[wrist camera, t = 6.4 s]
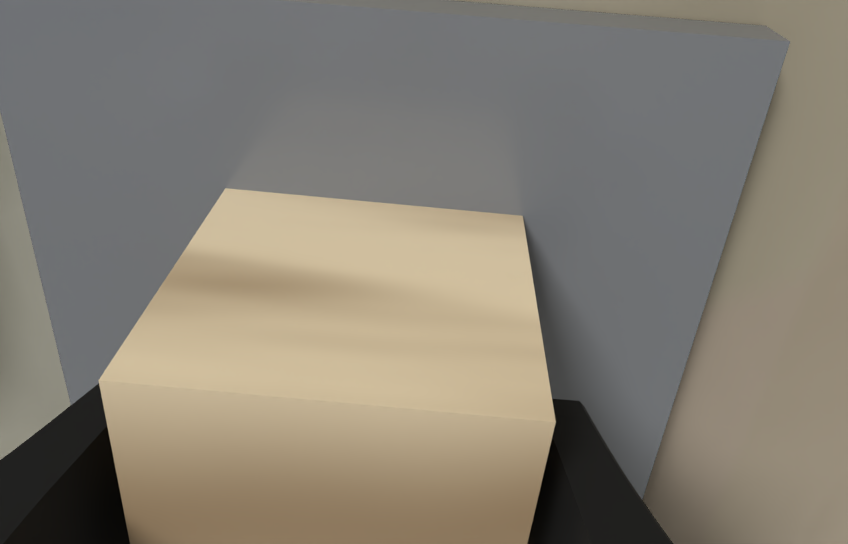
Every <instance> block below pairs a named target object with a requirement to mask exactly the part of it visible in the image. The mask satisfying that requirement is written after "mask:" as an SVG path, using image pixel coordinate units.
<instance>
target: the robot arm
mask: <svg viewBox="0 0 848 544" xmlns="http://www.w3.org/2000/svg"><path fill="white" fill-rule="evenodd" d="M552 402H553V408H554V414H555V420H556V423H555V428H554V432H553V436H552V440H551V445H550V449H549V453H548V458H547V462H546V466H545V470H544V475H543V479H542V483H541V487H540V492H539V496H538V500H537V505H536V509H535V513H534V517H533V522H532V526H531V530H530V534H529V539H528V543H527V544H673V543H672V541H671V540H670V539H669V537H668V536H667V535H666V533H665V532H664V530H663V529H662V528H661V526H660V525H659V524H658V522H657V521H656V519H655V518H654V517H653V515H652V514H651V512H650V511H649V509H648V508H647V506H646V505H645V503H644V502H643V500H642V499H641V498H640V496H639V495H638V493H637V492H636V490H635V489H634V487H633V486H632V484H631V483H630V481H629V480H628V478H627V477H626V475H625V474H624V472H623V471H622V469H621V467H620V466H619V464H618V463H617V461H616V459H615V458H614V456H613V454H612V453H611V451H610V450H609V448H608V446H607V445H606V443H605V441H604V440H603V438H602V436H601V435H600V433H599V431H598V429H597V428H596V426H595V424H594V422H593V421H592V419H591V417H590V415H589V414H588V412H587V410H586V408H585V407H584V406H583V404H582V403H581V402H580V401H575V400H563V399H552ZM0 544H130V541H129V536H128V530H127V525H126V520H125V515H124V510H123V505H122V499H121V494H120V489H119V484H118V479H117V474H116V468H115V463H114V458H113V453H112V448H111V443H110V437H109V432H108V427H107V422H106V417H105V412H104V406H103V401H102V396H101V391H100V386H99V383H98V384H97V385H96V386H95V387H93V388H92V389H91V390H90V391H88V392H87V393H86V394H85V395H83V396H82V397H81V398H80V399H78V400H77V401H76V402H75V403H73V404H72V405H71V406H70V407H68V408H67V409H66V410H65V411H63V412H62V413H61V414H60V415H58V416H57V417H56V418H55V419H53V420H52V421H51V422H50V423H48V424H47V425H46V426H45V427H43V428H42V429H41V430H39V431H38V432H37V433H35V434H34V435H33V436H32V437H30V438H29V439H28V440H26V441H25V442H24V443H23V444H21V445H20V446H19V447H17V448H16V449H15V450H13V451H12V452H11V453H10V454H8V455H7V456H5V457H4V458H3V459H1V460H0Z"/></svg>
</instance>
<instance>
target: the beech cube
mask: <svg viewBox="0 0 848 544" xmlns="http://www.w3.org/2000/svg"><path fill="white" fill-rule="evenodd" d="M98 381H99V386H100V391H101V396H102V401H103V406H104V412H105V417H106V422H107V427H108V432H109V437H110V443H111V448H112V453H113V458H114V463H115V468H116V474H117V479H118V484H119V489H120V494H121V499H122V505H123V510H124V515H125V520H126V525H127V530H128V536H129V541H130V544H527V543H528V539H529V534H530V530H531V526H532V522H533V517H534V513H535V509H536V505H537V500H538V496H539V492H540V487H541V483H542V479H543V475H544V470H545V466H546V462H547V458H548V453H549V449H550V445H551V440H552V436H553V432H554V428H555V423H556V420H555V414H554V408H553V402H552V395H551V389H550V383H549V377H548V370H547V364H546V358H545V352H544V345H543V339H542V333H541V327H540V320H539V314H538V308H537V302H536V296H535V289H534V283H533V277H532V271H531V264H530V258H529V252H528V246H527V239H526V233H525V227H524V221H523V216H519V215H508V214H498V213H487V212H476V211H465V210H455V209H444V208H433V207H422V206H411V205H401V204H390V203H379V202H368V201H357V200H347V199H336V198H325V197H314V196H304V195H293V194H282V193H271V192H260V191H250V190H239V189H228V188H225V190H224V191H223V193H222V194H221V196H220V197H219V199H218V200H217V202H216V203H215V205H214V206H213V208H212V209H211V211H210V212H209V214H208V215H207V217H206V218H205V220H204V221H203V223H202V225H201V226H200V228H199V229H198V231H197V232H196V234H195V235H194V237H193V238H192V240H191V241H190V243H189V244H188V246H187V247H186V249H185V250H184V252H183V253H182V255H181V256H180V258H179V259H178V261H177V262H176V264H175V265H174V267H173V268H172V270H171V271H170V273H169V274H168V276H167V277H166V279H165V280H164V282H163V283H162V285H161V287H160V288H159V290H158V291H157V293H156V294H155V296H154V297H153V299H152V300H151V302H150V303H149V305H148V306H147V308H146V309H145V311H144V312H143V314H142V315H141V317H140V318H139V320H138V321H137V323H136V324H135V326H134V327H133V329H132V330H131V332H130V333H129V335H128V336H127V338H126V339H125V341H124V342H123V344H122V346H121V347H120V349H119V350H118V352H117V353H116V355H115V356H114V358H113V359H112V361H111V362H110V364H109V365H108V367H107V368H106V370H105V371H104V373H103V374H102V376H101V377H100V379H99V380H98Z"/></svg>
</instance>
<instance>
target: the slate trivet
mask: <svg viewBox="0 0 848 544" xmlns="http://www.w3.org/2000/svg"><path fill="white" fill-rule="evenodd" d="M789 43H790V41H789V40H787V39H786V38H784V37H782V36H781V35H779V34H778V33H776V32H775V31H773V30H771V29H770V28H768V27H767V26H762V25H750V24H737V23H725V22H713V21H700V20H688V19H675V18H663V17H650V16H638V15H626V14H613V13H601V12H588V11H576V10H564V9H551V8H539V7H526V6H514V5H501V4H489V3H477V2H464V1H452V0H0V112H1V116H2V120H3V124H4V128H5V132H6V137H7V141H8V145H9V149H10V153H11V157H12V161H13V166H14V170H15V174H16V178H17V182H18V186H19V191H20V195H21V199H22V203H23V207H24V211H25V216H26V220H27V224H28V228H29V232H30V236H31V241H32V245H33V249H34V253H35V257H36V261H37V266H38V270H39V274H40V278H41V282H42V286H43V290H44V295H45V299H46V303H47V307H48V311H49V315H50V320H51V324H52V328H53V332H54V336H55V340H56V345H57V349H58V353H59V357H60V361H61V365H62V370H63V374H64V378H65V382H66V386H67V390H68V395H69V399H70V403H71V405H72V404H73V403H75V402H76V401H77V400H78V399H80V398H81V397H82V396H83V395H85V394H86V393H87V392H88V391H90V390H91V389H92V388H93V387H95V386H96V385H97V384H98V383H99V381H98V380H99V379H100V377H101V376H102V374H103V373H104V371H105V370H106V368H107V367H108V365H109V364H110V362H111V361H112V359H113V358H114V356H115V355H116V353H117V352H118V350H119V349H120V347H121V346H122V344H123V342H124V341H125V339H126V338H127V336H128V335H129V333H130V332H131V330H132V329H133V327H134V326H135V324H136V323H137V321H138V320H139V318H140V317H141V315H142V314H143V312H144V311H145V309H146V308H147V306H148V305H149V303H150V302H151V300H152V299H153V297H154V296H155V294H156V293H157V291H158V290H159V288H160V287H161V285H162V283H163V282H164V280H165V279H166V277H167V276H168V274H169V273H170V271H171V270H172V268H173V267H174V265H175V264H176V262H177V261H178V259H179V258H180V256H181V255H182V253H183V252H184V250H185V249H186V247H187V246H188V244H189V243H190V241H191V240H192V238H193V237H194V235H195V234H196V232H197V231H198V229H199V228H200V226H201V225H202V223H203V221H204V220H205V218H206V217H207V215H208V214H209V212H210V211H211V209H212V208H213V206H214V205H215V203H216V202H217V200H218V199H219V197H220V196H221V194H222V193H223V191H224V190H225V188H228V189H239V190H250V191H260V192H271V193H282V194H293V195H304V196H314V197H325V198H336V199H347V200H357V201H368V202H379V203H390V204H401V205H411V206H422V207H433V208H444V209H455V210H465V211H476V212H487V213H498V214H508V215H519V216H523V221H524V227H525V233H526V239H527V246H528V252H529V258H530V264H531V271H532V277H533V283H534V289H535V296H536V302H537V308H538V314H539V320H540V327H541V333H542V339H543V345H544V352H545V358H546V364H547V370H548V377H549V383H550V389H551V395H552V399H563V400H575V401H580V402H581V403H582V404H583V406H584V407H585V408H586V410H587V412H588V414H589V415H590V417H591V419H592V421H593V422H594V424H595V426H596V428H597V429H598V431H599V433H600V435H601V436H602V438H603V440H604V441H605V443H606V445H607V446H608V448H609V450H610V451H611V453H612V454H613V456H614V458H615V459H616V461H617V463H618V464H619V466H620V467H621V469H622V471H623V472H624V474H625V475H626V477H627V478H628V480H629V481H630V483H631V484H632V486H633V487H634V489H635V490H636V492H637V493H638V495H639V496H640V498H641V499H643V496H644V493H645V489H646V486H647V483H648V480H649V477H650V474H651V471H652V468H653V465H654V462H655V458H656V455H657V452H658V449H659V446H660V443H661V440H662V437H663V434H664V431H665V427H666V424H667V421H668V418H669V415H670V412H671V409H672V406H673V403H674V400H675V397H676V393H677V390H678V387H679V384H680V381H681V378H682V375H683V372H684V369H685V366H686V362H687V359H688V356H689V353H690V350H691V347H692V344H693V341H694V338H695V335H696V331H697V328H698V325H699V322H700V319H701V316H702V313H703V310H704V307H705V304H706V301H707V297H708V294H709V291H710V288H711V285H712V282H713V279H714V276H715V273H716V270H717V266H718V263H719V260H720V257H721V254H722V251H723V248H724V245H725V242H726V239H727V235H728V232H729V229H730V226H731V223H732V220H733V217H734V214H735V211H736V208H737V205H738V201H739V198H740V195H741V192H742V189H743V186H744V183H745V180H746V177H747V174H748V170H749V167H750V164H751V161H752V158H753V155H754V152H755V149H756V146H757V143H758V140H759V136H760V133H761V130H762V127H763V124H764V121H765V118H766V115H767V112H768V109H769V105H770V102H771V99H772V96H773V93H774V90H775V87H776V84H777V81H778V78H779V74H780V71H781V68H782V65H783V62H784V59H785V56H786V53H787V50H788V47H789Z"/></svg>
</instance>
